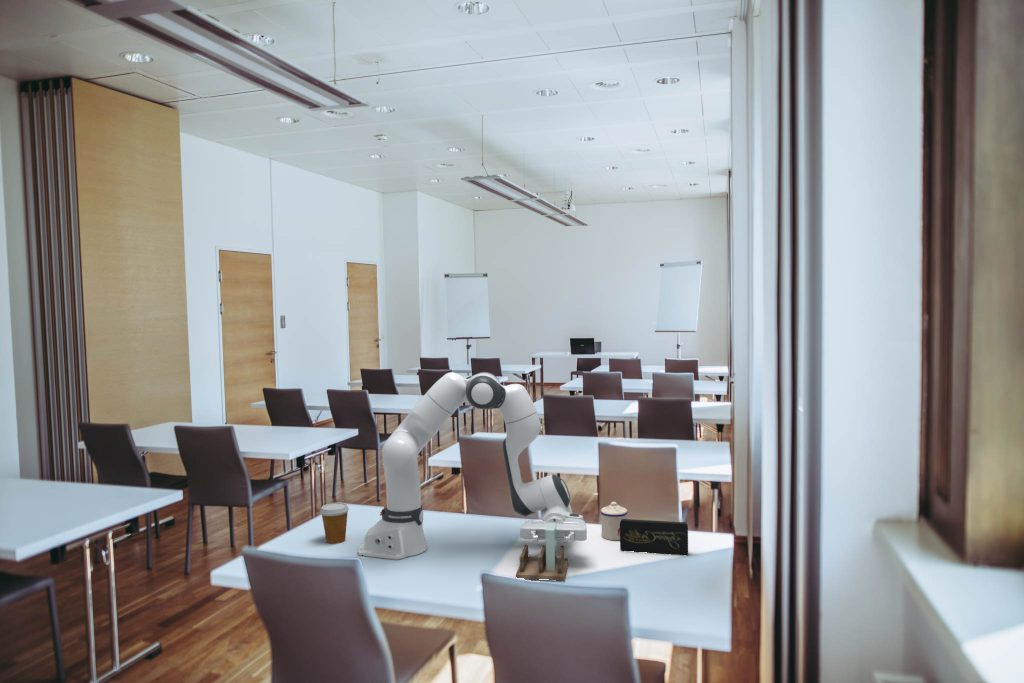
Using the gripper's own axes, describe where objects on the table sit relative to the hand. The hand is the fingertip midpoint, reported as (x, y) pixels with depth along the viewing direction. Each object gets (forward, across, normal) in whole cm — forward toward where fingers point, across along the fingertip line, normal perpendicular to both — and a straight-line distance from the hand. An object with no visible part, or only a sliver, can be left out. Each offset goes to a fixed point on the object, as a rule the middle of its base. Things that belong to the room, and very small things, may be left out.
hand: (551, 539), depth 197 cm
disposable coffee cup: (-20, -77, +10) cm, 80 cm away
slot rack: (-1, -3, +10) cm, 10 cm away
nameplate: (-19, +30, +10) cm, 37 cm away
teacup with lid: (-34, +18, +10) cm, 40 cm away
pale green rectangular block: (-1, 0, +8) cm, 8 cm away
